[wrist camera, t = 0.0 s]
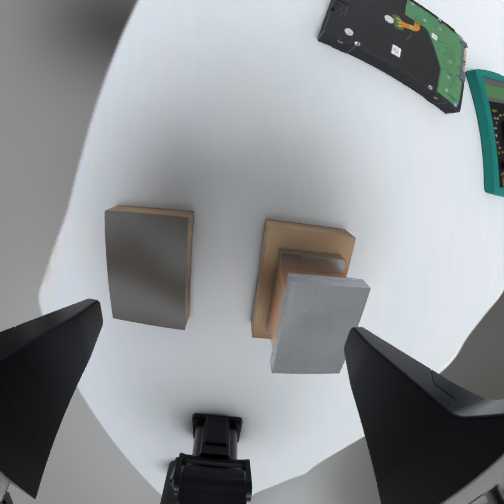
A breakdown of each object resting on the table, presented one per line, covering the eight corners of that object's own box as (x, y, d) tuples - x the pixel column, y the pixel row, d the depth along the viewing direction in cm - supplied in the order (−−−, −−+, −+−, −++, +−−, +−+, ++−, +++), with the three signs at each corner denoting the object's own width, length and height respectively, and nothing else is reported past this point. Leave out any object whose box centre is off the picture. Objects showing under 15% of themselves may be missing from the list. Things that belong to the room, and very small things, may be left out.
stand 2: (320, 326, 26) (327, 341, 24) (251, 321, 26) (252, 337, 24) (345, 229, 23) (355, 238, 21) (266, 219, 23) (268, 226, 20)
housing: (321, 327, 23) (339, 373, 18) (265, 324, 23) (271, 372, 17) (340, 254, 21) (370, 288, 15) (279, 247, 21) (291, 282, 15)
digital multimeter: (481, 196, 23) (498, 201, 20) (461, 69, 18) (478, 66, 15) (510, 189, 22) (526, 194, 19) (494, 77, 17) (509, 75, 14)
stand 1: (189, 315, 26) (184, 330, 23) (122, 304, 25) (113, 318, 23) (193, 211, 22) (187, 218, 20) (117, 205, 22) (104, 211, 19)
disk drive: (314, 44, 18) (445, 115, 20) (322, 32, 15) (462, 114, 17) (337, -23, 15) (454, 44, 16) (345, -37, 12) (469, 39, 14)
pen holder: (193, 479, 40) (189, 518, 30) (157, 462, 37) (149, 504, 28) (228, 472, 38) (227, 516, 28) (190, 454, 35) (184, 503, 26)
